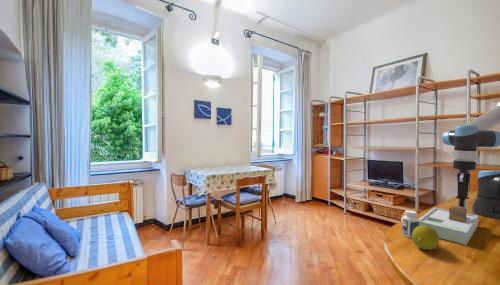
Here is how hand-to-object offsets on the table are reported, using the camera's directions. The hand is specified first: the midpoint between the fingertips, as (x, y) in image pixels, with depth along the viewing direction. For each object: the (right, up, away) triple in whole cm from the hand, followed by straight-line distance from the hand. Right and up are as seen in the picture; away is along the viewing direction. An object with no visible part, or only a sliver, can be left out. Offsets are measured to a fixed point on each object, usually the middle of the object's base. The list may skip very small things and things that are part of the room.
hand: (461, 213), depth 108 cm
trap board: (-8, -6, -2) cm, 10 cm away
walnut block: (-4, -2, -2) cm, 5 cm away
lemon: (-31, -7, -21) cm, 38 cm away
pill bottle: (-30, -6, -10) cm, 32 cm away
